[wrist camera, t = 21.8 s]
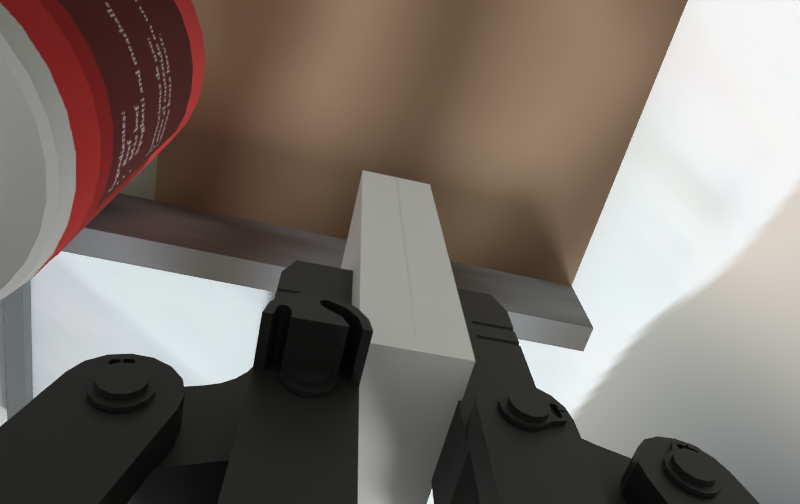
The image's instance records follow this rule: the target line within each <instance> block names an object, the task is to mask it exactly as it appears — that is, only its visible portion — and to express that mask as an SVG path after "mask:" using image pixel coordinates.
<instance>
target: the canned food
mask: <svg viewBox="0 0 800 504" xmlns="http://www.w3.org/2000/svg"><path fill="white" fill-rule="evenodd" d="M204 69H205V51H204V43H203V34H202V31H201V27H200V24H199V21H198V18H197V15H196V11H195V8H194V6H193V4H192V2H191V1H190V0H0V300H2V299H3V298H5V297H6V296H8V295H9V294H10V293H12V292H13V291H15V290H16V289H18V288H19V287H20V286H22V285H23V284H25V283H26V282H27V281H29V280H30V279H32V278H33V277H34V276H35V275H36V274H37V273H38V272H39V271H40V270H41V269H42V268H43V267H44V266H45V265H46V264H47V263H48V262H49V261H50V260H51V259H53V258H54V257H55V256H56V255H58V254H59V253H60V252H61V251H62V250H63V249H64V248H65V247H66V246H67V245H68V244H69V243H70V242H71V241H72V240H73V239H74V238H75V237H76V236H77V235H78V234H79V233H80V232H81V231H82V230H83V229H84V228H85V227H86V226H87V225H88V224H89V223H90V222H91V221H92V220H93V219H94V218H95V217H96V216H97V215H98V214H99V213H100V212H101V211H102V210H103V208H104V207H105V206H106V205H107V204H108V203H109V202H110V201H111V200H112V199H113V198H114V197H115V196H116V195H117V194H118V193H119V192H120V191H121V190H122V189H123V188H124V187H125V186H126V185H127V184H128V183H129V182H130V181H131V180H132V179H133V178H134V177H135V176H136V175H137V174H138V173H139V172H140V171H141V170H142V169H143V168H144V167H145V166H146V165H147V164H148V163H149V162H150V161H151V160H152V159H153V158H154V157H155V156H156V155H157V154H158V153H159V152H160V151H161V150H162V149H163V148H164V147H165V146H166V145H167V144H168V143H169V142H170V141H171V140H172V139H173V138H174V137H175V136H176V135H177V134H178V132H179V131H180V130H181V129H182V128H183V127H184V126H185V125H186V123H187V121H188V120H189V118H190V116H191V114H192V112H193V111H194V109H195V107H196V105H197V102H198V99H199V96H200V92H201V89H202V85H203V81H204Z"/></svg>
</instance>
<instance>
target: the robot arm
mask: <svg viewBox="0 0 800 504" xmlns="http://www.w3.org/2000/svg"><path fill="white" fill-rule="evenodd" d="M513 329H514V328H513V325H512V323H511V320H510V317H509V315H508V312H507V311H506V310H505V309H504V308H503V306H502V305H501V304H500V303H499V302H498V301H497V300H496V299H495V298H494V297H493V296H492V295H491V294H486V293H480V292H475V291H470V290H464V289H459V288H457V287H456V284H455V280H454V276H453V272H452V268H451V264H450V260H449V256H448V253H447V249H446V245H445V241H444V237H443V233H442V229H441V225H440V221H439V218H438V214H437V210H436V206H435V202H434V198H433V194H432V190H431V186H430V184H426V183H421V182H416V181H412V180H407V179H402V178H397V177H393V176H388V175H383V174H379V173H374V172H369V171H364V170H362V175H361V179H360V184H359V189H358V193H357V198H356V202H355V207H354V211H353V216H352V220H351V225H350V229H349V234H348V238H347V243H346V247H345V252H344V256H343V261H342V265H341V268H336V267H331V266H326V265H320V264H315V263H310V262H304V261H299V260H296V261H295V262H294V263H292V264H291V265H290V266H288V267H287V268H286V269H284V270H283V271H282V272H281V275H280V279H279V283H278V287H277V291H276V295H275V298H274V300H272V301H270V302H269V303H268V305H267V306H266V308H265V309H264V311H263V312H262V318H261V324H260V330H259V336H258V342H257V347H256V353H255V359H254V365H253V367H252V368H251V369H250V370H249V371H248V372H247V373H245V374H243V375H241V376H239V377H238V378H236V379H233V380H230V381H227V382H223V383H219V384H212V385H205V386H188V387H184V385H183V379H182V378H181V377H180V376H179V374H178V373H177V372H176V371H175V370H174V369H173V368H172V367H171V366H169V365H167V364H165V363H163V362H161V361H159V360H157V359H155V358H151V357H146V356H141V355H135V354H114V355H105V356H101V357H97V358H94V359H90V360H86V361H84V362H82V363H80V364H78V365H77V366H75V367H73V368H72V369H70V370H68V371H66V372H65V373H64V374H63V375H62V376H60V377H59V378H58V379H57V380H56V381H54V382H53V383H52V384H51V385H50V386H48V387H47V388H46V389H45V390H44V391H42V392H41V393H40V394H39V395H38V396H36V397H35V398H34V399H33V400H32V401H30V402H29V403H28V404H27V405H26V406H24V407H23V408H22V409H21V410H20V411H18V412H17V413H16V414H15V415H14V416H12V417H11V418H10V419H9V420H8V421H6V422H5V423H4V424H3V425H2V426H0V504H426V503H427V501H428V498H429V495H430V492H431V489H432V490H433V498H434V504H759V503H758V502H757V500H756V499H755V498H754V497H753V496H752V495H751V494H750V493H749V492H748V491H747V490H746V489H745V488H744V487H743V485H742V484H741V483H740V482H739V481H738V480H737V479H736V478H735V477H734V476H733V475H732V474H731V473H730V472H729V471H728V470H727V469H726V468H725V467H724V466H722V465H721V464H720V463H719V462H718V461H716V459H714V458H713V457H711V456H710V455H708V454H706V453H705V452H703V451H701V450H700V449H699V448H698V447H696V446H693V445H691V444H689V443H685V442H682V441H679V440H676V439H672V438H664V437H654V438H649V439H645V440H644V441H643V442H642V443H641V444H640V445H639V446H638V448H637V450H636V452H635V453H634V455H633V457H632V459H631V458H629V457H626V456H623V455H621V454H618V453H616V452H613V451H610V450H607V449H605V448H602V447H600V446H597V445H595V444H592V443H590V442H588V441H586V440H584V439H582V438H581V437H580V434H579V432H578V430H577V427H576V425H575V423H574V420H573V419H572V417H571V416H570V414H569V413H568V411H567V410H566V408H565V407H564V406H563V405H561V404H560V403H559V402H558V401H557V400H555V399H554V398H553V397H552V396H551V395H549V394H547V393H545V392H543V391H541V390H539V389H537V388H536V386H535V384H534V381H533V378H532V376H531V373H530V370H529V368H528V365H527V362H526V360H525V357H524V354H523V352H522V349H521V346H519V341H518V339H517V336H516V333H515V332H513Z"/></svg>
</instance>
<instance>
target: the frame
mask: <svg viewBox="0 0 800 504" xmlns="http://www.w3.org/2000/svg"><path fill="white" fill-rule="evenodd" d="M3 322H4V346H5V370H6V394H7V418H8V420H9V419H10V418H11V417H12V416H14V415H15V414H16V413H17V412H18V411H20V410H21V409H22V408H23V407H24V406H26V405H27V404H28V403H29V402H30V401H32V400H33V398H32V346H31V293H30V280H29V281H27V282H26V283H25V284H23V285H22V286H20V287H19V288H18V289H16V290H15V291H13V292H12V293H10V294H9V295H8V296H6V297H5V298H3Z"/></svg>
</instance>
